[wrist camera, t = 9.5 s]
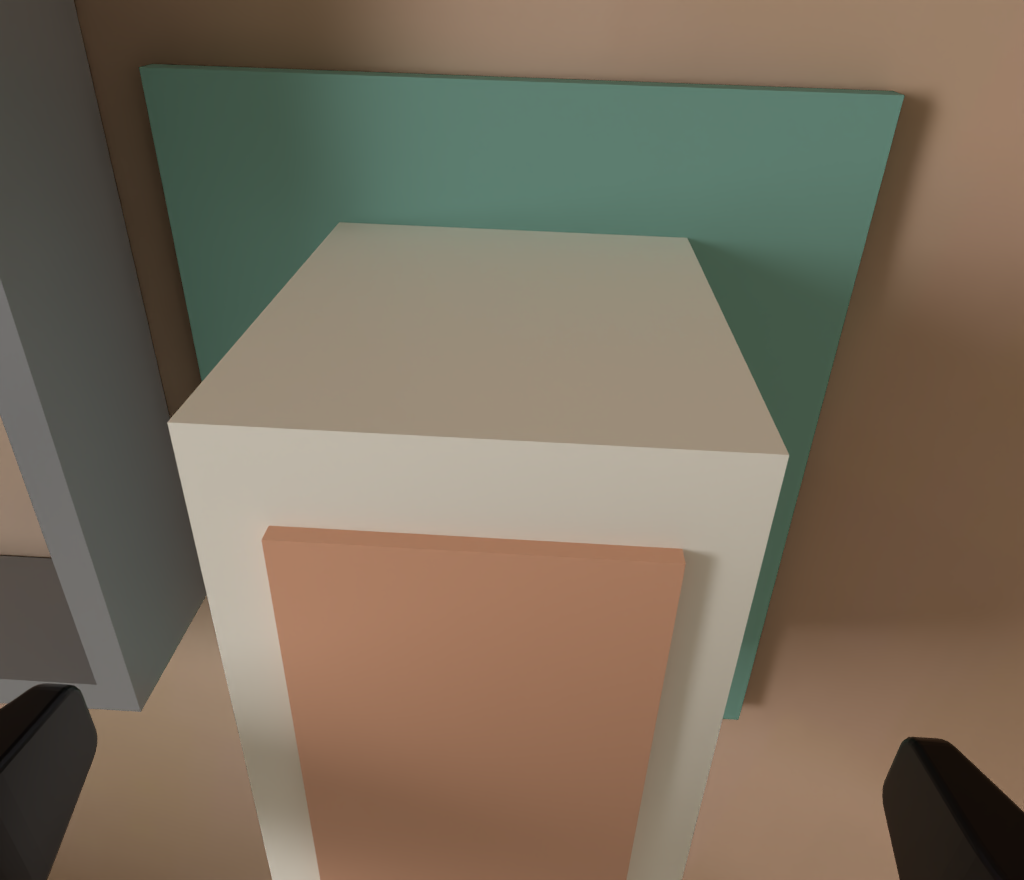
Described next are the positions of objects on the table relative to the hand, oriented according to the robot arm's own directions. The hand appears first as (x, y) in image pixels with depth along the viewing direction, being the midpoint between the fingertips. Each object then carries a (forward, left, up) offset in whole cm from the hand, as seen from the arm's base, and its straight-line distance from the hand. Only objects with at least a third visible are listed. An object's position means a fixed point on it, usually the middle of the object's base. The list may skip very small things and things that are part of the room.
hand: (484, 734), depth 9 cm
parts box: (0, 0, -6) cm, 6 cm away
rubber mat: (0, 0, -6) cm, 6 cm away
